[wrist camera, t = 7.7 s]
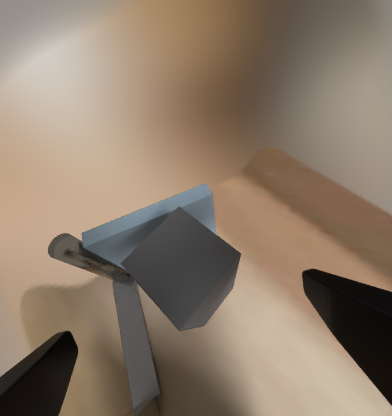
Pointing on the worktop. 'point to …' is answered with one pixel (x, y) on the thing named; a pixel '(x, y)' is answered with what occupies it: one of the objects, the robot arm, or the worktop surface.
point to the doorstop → (184, 269)
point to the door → (147, 224)
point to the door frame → (120, 321)
